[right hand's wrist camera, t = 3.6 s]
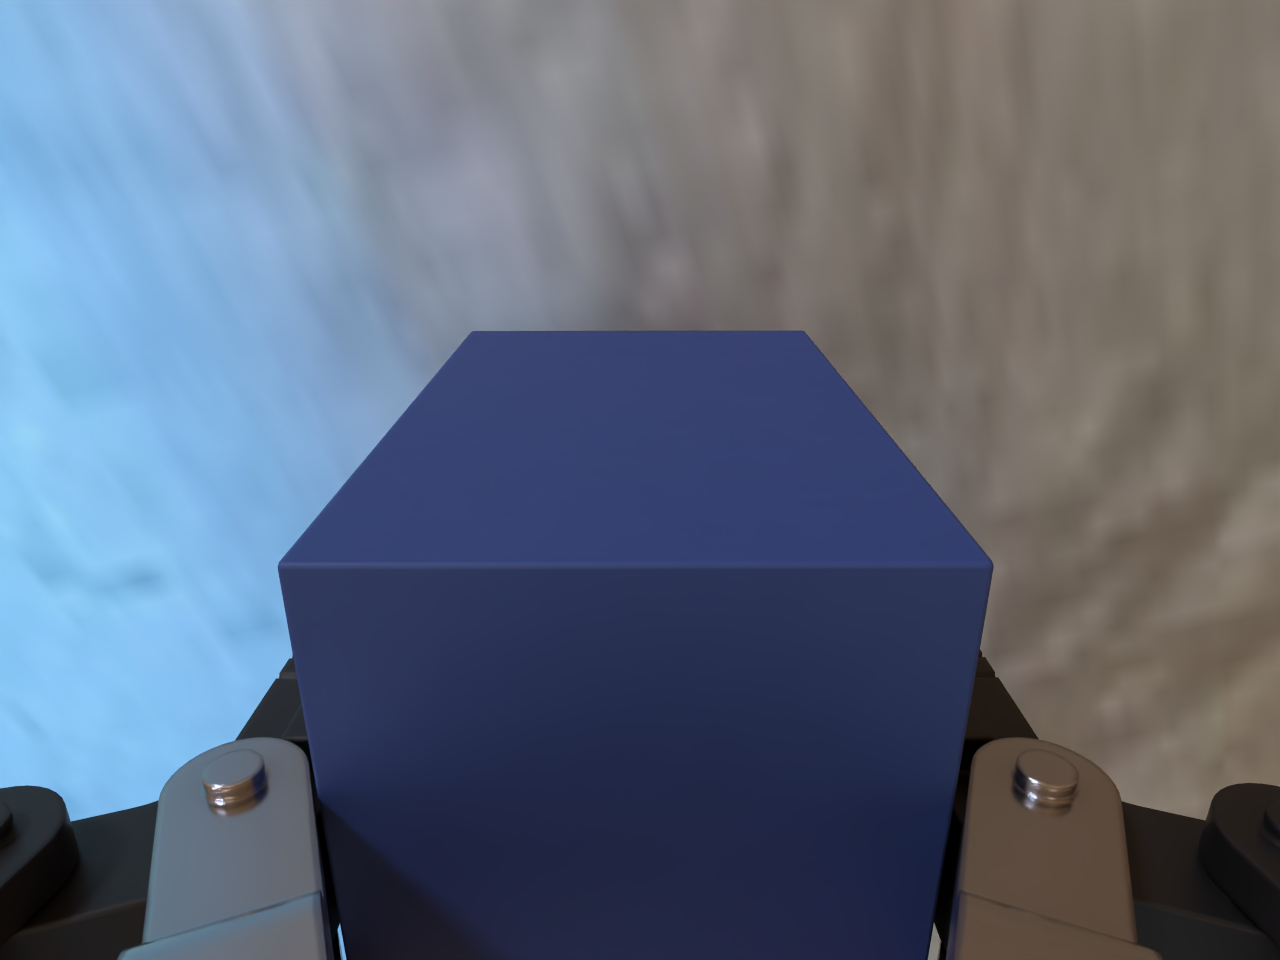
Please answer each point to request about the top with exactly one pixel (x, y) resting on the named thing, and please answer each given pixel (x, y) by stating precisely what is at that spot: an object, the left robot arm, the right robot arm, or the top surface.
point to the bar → (636, 660)
